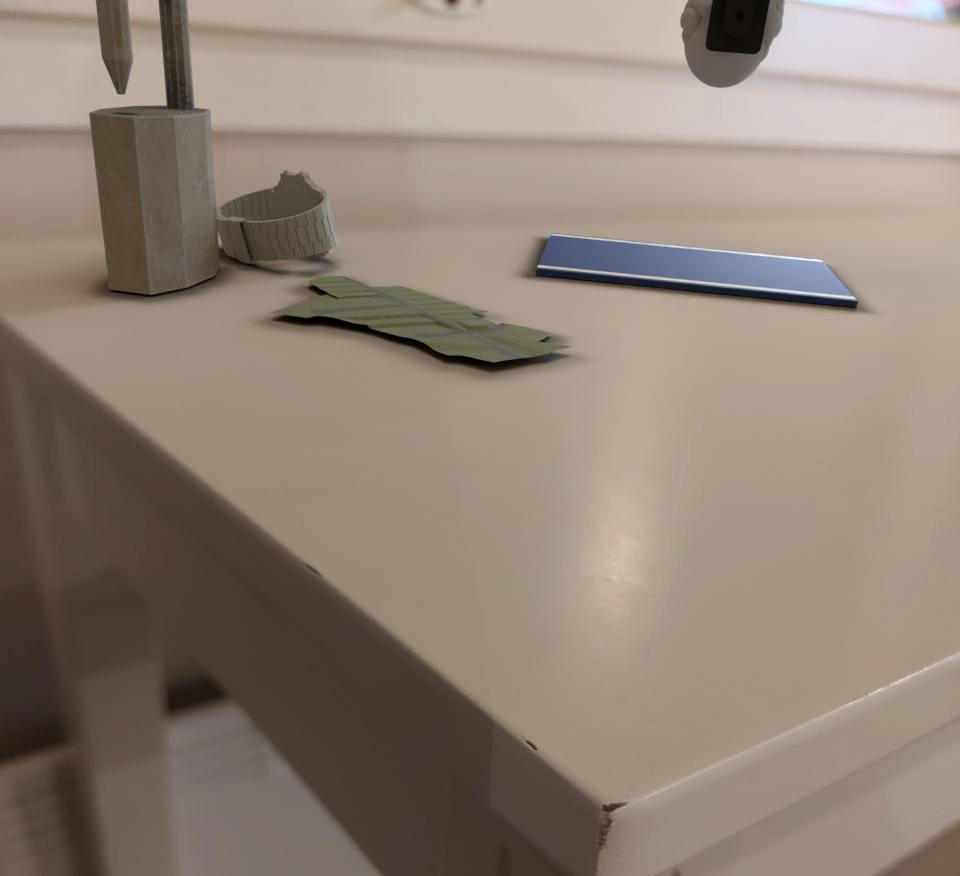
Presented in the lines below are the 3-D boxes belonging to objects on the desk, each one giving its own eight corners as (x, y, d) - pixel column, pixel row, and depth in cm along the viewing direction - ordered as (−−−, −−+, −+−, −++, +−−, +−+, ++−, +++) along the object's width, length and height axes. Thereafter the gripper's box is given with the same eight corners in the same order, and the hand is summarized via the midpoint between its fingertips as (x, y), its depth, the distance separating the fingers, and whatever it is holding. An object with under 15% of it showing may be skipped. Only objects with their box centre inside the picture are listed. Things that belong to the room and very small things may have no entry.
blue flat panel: (820, 264, 74) (821, 259, 74) (856, 307, 62) (858, 300, 62) (550, 238, 75) (551, 232, 75) (535, 275, 64) (536, 268, 63)
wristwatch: (361, 268, 61) (362, 179, 59) (273, 278, 57) (270, 183, 55) (276, 241, 67) (274, 158, 64) (191, 248, 63) (185, 160, 60)
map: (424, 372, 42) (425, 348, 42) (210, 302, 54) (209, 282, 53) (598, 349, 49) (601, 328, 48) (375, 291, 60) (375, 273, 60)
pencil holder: (95, 288, 52) (52, -60, 45) (169, 261, 59) (144, -45, 51) (165, 298, 52) (134, -54, 44) (232, 269, 59) (216, -40, 51)
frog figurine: (788, 92, 64) (815, -39, 60) (738, 91, 59) (764, -52, 55) (703, 84, 67) (724, -42, 63) (649, 82, 62) (668, -54, 59)
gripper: (905, -399, 45) (809, 59, 54) (837, -291, 60) (771, 55, 69) (737, -408, 46) (670, 47, 55) (711, -298, 60) (662, 46, 70)
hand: (727, 49), depth 62 cm, fingers closed on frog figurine, 6 cm apart
